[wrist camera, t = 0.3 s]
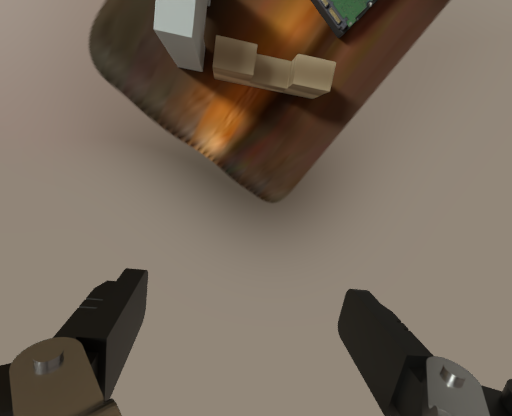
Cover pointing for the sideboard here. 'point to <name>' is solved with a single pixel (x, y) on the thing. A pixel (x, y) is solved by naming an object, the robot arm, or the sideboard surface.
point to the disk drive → (342, 13)
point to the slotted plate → (182, 30)
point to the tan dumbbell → (271, 69)
